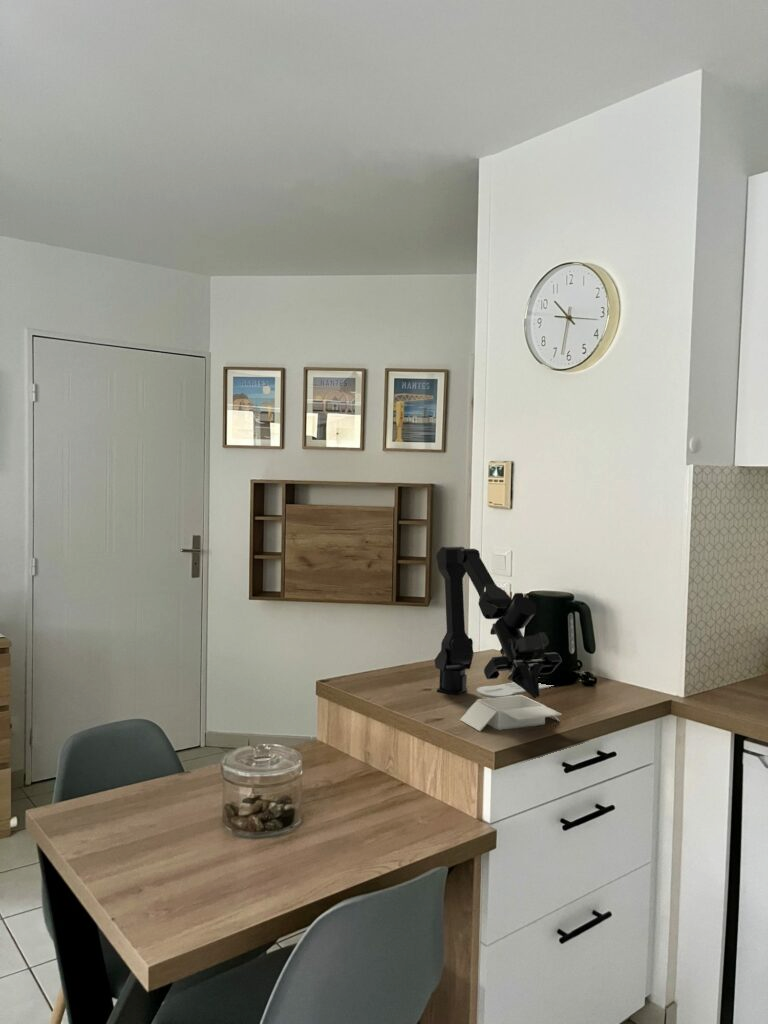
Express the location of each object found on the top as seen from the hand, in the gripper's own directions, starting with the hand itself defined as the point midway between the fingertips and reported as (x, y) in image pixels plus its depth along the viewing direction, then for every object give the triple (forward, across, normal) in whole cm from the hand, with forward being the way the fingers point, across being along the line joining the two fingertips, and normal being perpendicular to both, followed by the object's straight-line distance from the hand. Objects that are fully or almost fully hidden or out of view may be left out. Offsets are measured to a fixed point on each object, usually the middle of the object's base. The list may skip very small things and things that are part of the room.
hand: (537, 697), depth 178 cm
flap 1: (-3, -9, +12) cm, 15 cm away
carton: (-1, 0, +13) cm, 13 cm away
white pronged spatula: (-18, +20, +32) cm, 41 cm away
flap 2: (-3, +9, +12) cm, 15 cm away
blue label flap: (+2, 0, +4) cm, 4 cm away
